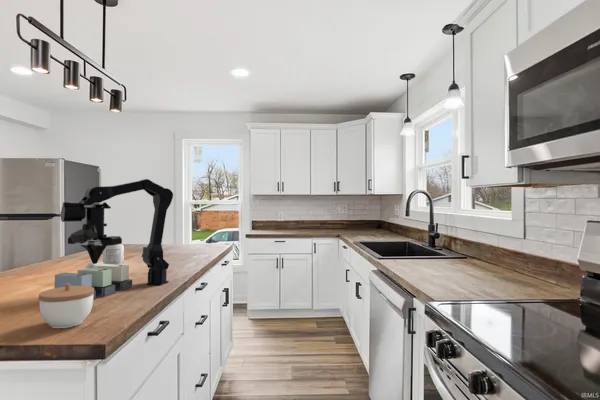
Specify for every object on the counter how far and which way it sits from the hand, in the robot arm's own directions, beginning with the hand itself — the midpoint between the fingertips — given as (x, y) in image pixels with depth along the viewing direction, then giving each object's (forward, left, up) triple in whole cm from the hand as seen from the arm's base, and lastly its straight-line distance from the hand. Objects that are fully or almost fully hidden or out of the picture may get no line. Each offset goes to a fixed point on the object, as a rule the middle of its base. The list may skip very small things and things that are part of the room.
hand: (94, 263), depth 126 cm
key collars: (0, 0, -11) cm, 11 cm away
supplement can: (+14, -25, -11) cm, 31 cm away
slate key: (0, +9, -8) cm, 12 cm away
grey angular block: (+15, -16, -11) cm, 25 cm away
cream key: (0, -9, -8) cm, 12 cm away
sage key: (0, 0, -8) cm, 8 cm away
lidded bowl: (-18, +28, -11) cm, 35 cm away
